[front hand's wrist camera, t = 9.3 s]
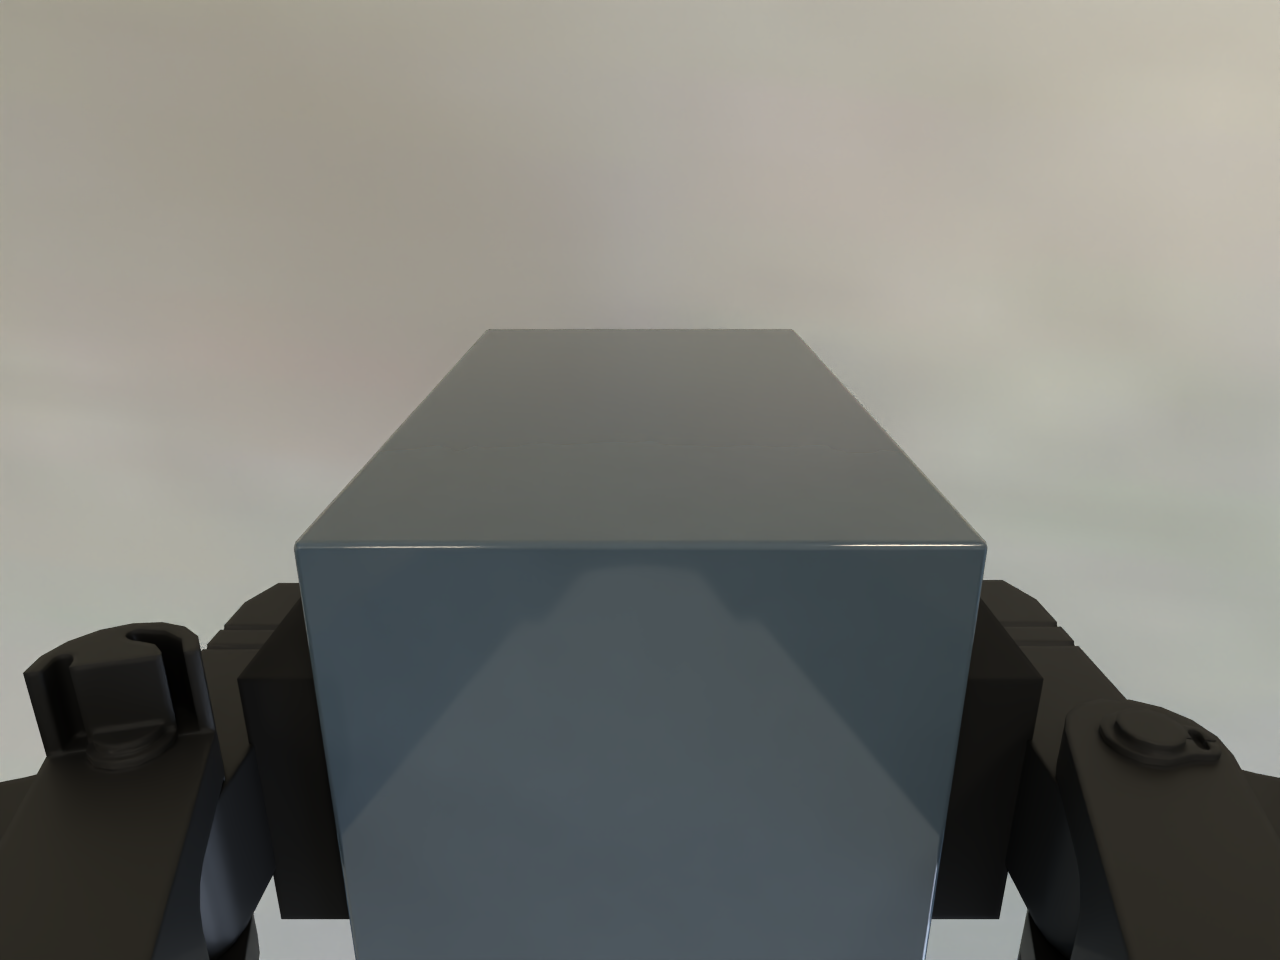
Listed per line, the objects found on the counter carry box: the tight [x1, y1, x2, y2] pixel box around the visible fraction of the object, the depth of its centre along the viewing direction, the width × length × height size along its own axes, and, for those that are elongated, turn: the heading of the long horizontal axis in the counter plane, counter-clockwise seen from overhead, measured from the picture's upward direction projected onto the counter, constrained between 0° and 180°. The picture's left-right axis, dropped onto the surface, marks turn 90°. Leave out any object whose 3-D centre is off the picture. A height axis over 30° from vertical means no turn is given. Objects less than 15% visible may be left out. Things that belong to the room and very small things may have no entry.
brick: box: [294, 329, 987, 960], centre depth 12 cm, size 6×6×9 cm
